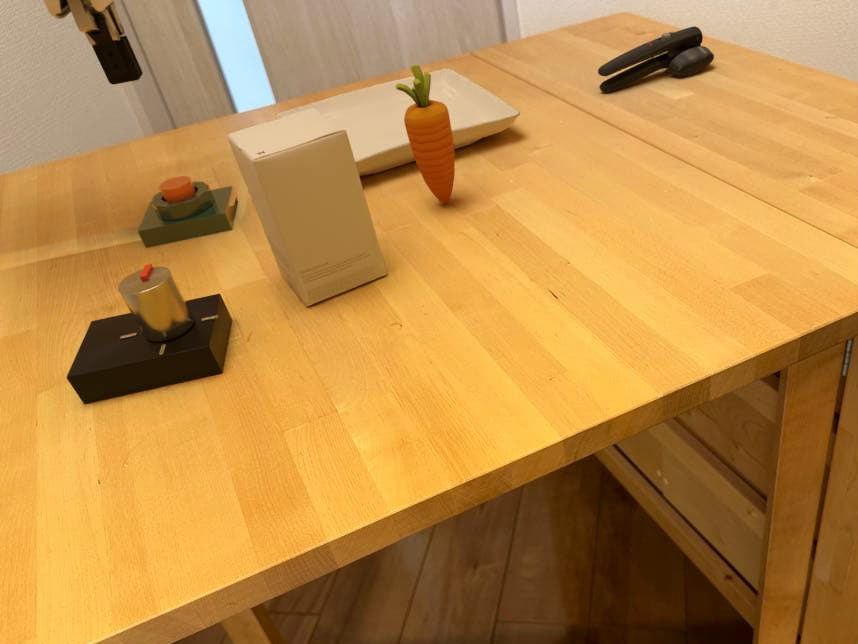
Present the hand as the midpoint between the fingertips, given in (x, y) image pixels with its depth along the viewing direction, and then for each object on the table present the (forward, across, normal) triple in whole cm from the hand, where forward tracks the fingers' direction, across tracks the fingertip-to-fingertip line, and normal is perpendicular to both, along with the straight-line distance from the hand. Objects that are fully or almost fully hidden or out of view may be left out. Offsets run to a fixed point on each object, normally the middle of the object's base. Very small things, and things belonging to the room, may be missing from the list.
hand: (127, 79), depth 81 cm
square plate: (+17, -15, +26) cm, 35 cm away
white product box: (+17, +20, +17) cm, 31 cm away
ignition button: (+13, 0, 0) cm, 13 cm away
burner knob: (+14, +29, +3) cm, 32 cm away
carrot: (+17, +9, +30) cm, 36 cm away
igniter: (+17, 0, 0) cm, 17 cm away
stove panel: (+17, +29, +1) cm, 34 cm away
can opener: (+17, -18, +64) cm, 69 cm away
